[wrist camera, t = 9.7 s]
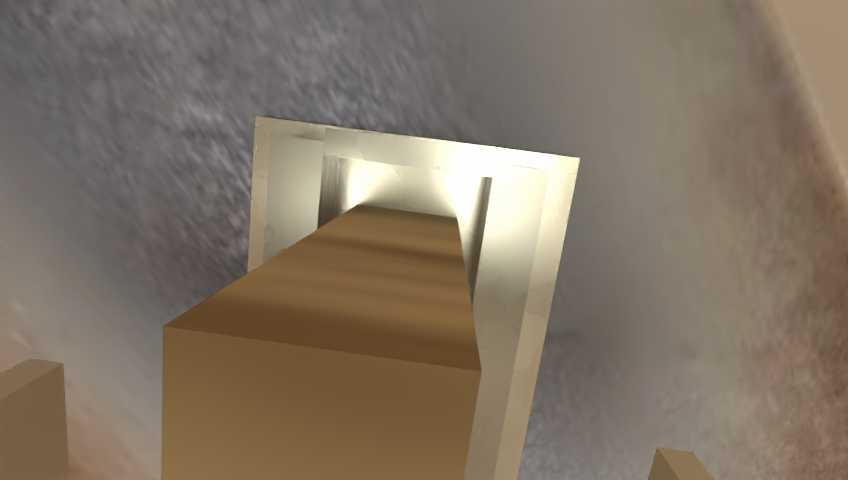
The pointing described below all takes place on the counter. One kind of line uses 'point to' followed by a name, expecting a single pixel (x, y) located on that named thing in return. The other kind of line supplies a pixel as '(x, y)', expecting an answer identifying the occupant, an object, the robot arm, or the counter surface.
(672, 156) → the counter surface
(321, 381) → the wooden block
